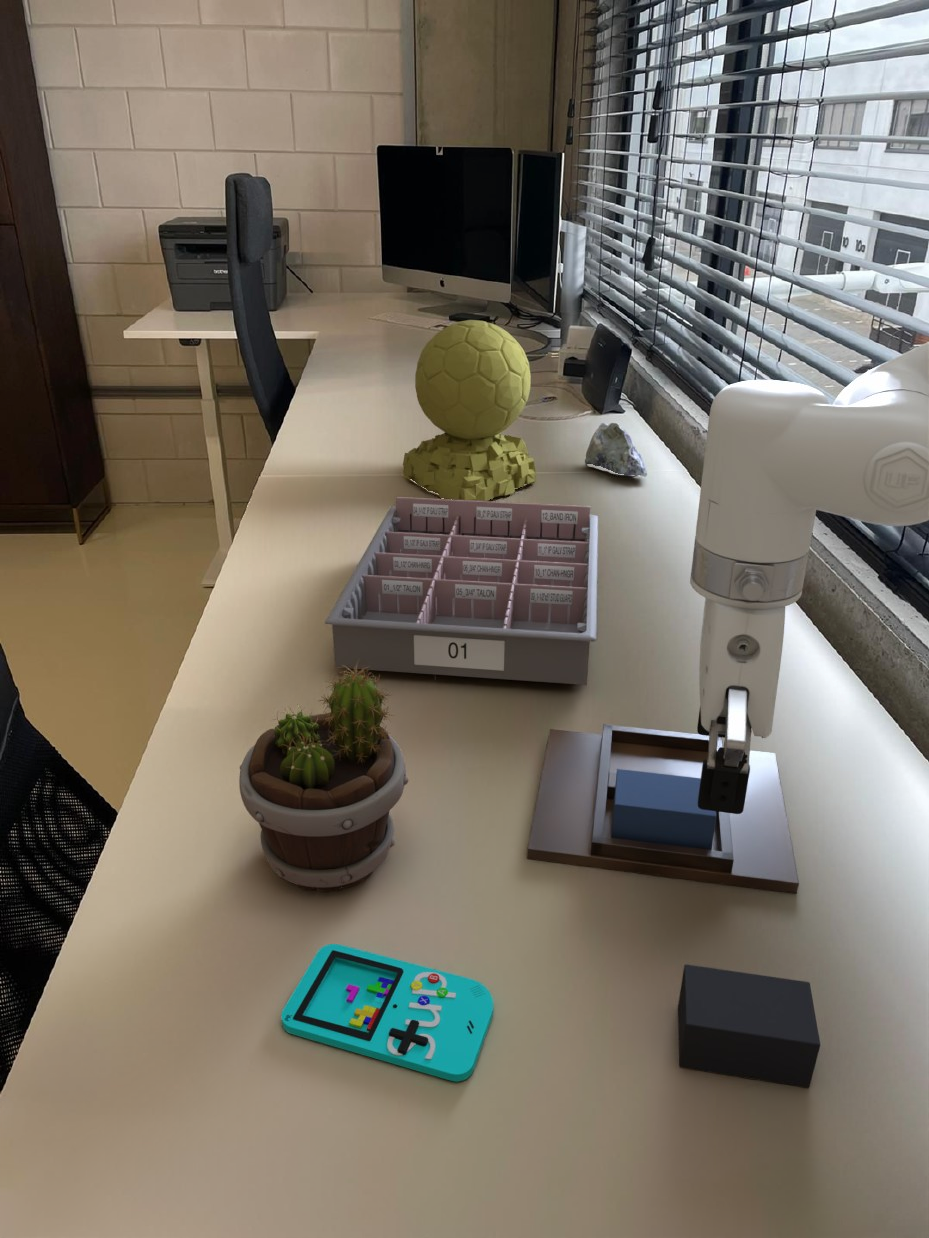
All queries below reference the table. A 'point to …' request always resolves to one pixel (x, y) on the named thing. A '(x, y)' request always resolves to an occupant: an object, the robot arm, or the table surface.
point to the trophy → (471, 413)
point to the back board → (581, 835)
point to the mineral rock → (614, 451)
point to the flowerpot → (327, 788)
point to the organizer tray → (473, 592)
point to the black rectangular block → (747, 1026)
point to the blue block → (661, 810)
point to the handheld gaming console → (391, 1011)
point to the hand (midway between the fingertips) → (718, 769)
